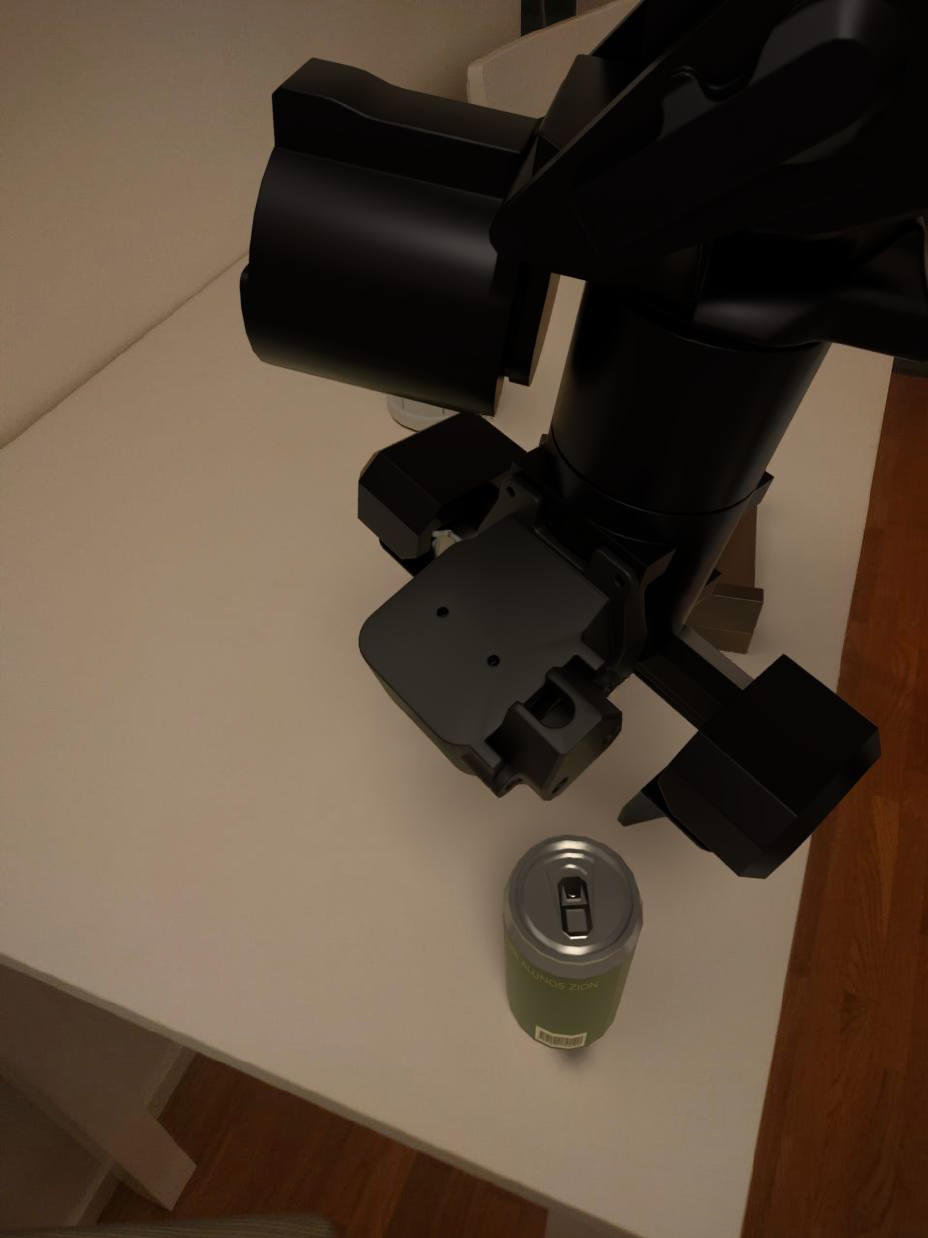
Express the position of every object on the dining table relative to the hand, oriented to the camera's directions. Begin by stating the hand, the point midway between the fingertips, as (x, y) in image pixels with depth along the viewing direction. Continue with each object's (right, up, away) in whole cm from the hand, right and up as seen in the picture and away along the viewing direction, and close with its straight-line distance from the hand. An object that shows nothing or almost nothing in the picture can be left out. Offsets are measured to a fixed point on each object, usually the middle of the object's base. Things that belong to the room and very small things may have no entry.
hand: (545, 736), depth 34 cm
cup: (-5, +23, +38) cm, 45 cm away
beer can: (+1, -13, +6) cm, 15 cm away
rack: (+9, +9, +25) cm, 28 cm away
